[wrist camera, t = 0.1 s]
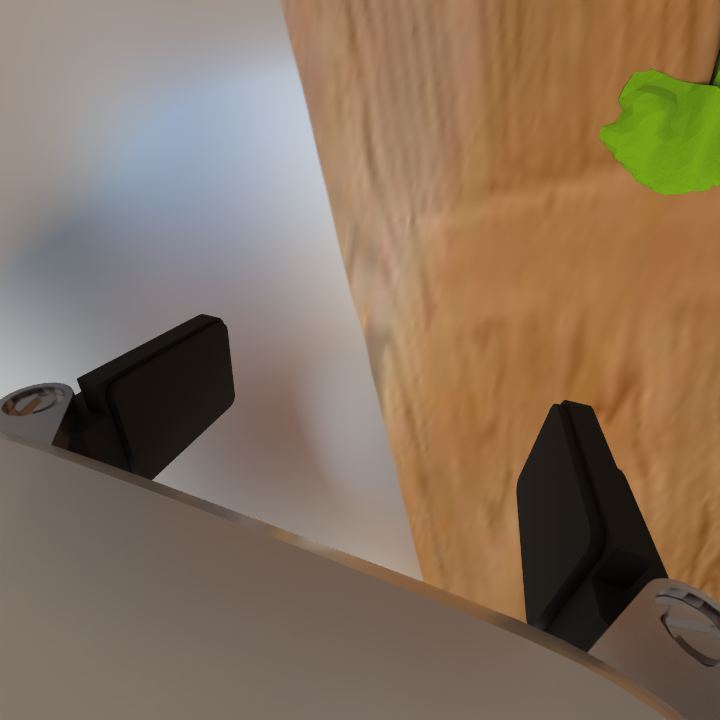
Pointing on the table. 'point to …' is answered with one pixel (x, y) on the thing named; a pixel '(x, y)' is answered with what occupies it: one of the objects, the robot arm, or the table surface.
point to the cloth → (668, 132)
